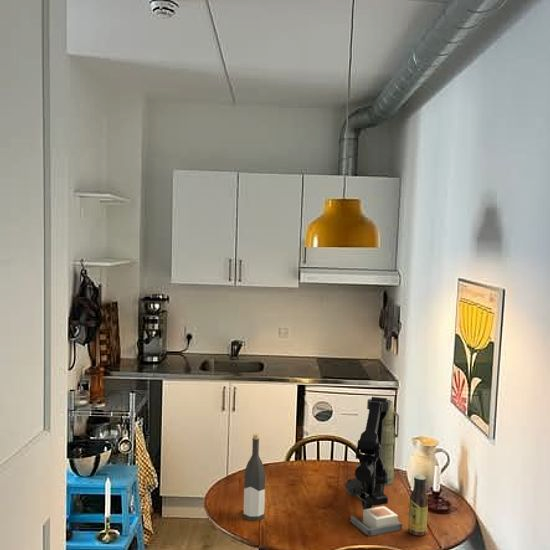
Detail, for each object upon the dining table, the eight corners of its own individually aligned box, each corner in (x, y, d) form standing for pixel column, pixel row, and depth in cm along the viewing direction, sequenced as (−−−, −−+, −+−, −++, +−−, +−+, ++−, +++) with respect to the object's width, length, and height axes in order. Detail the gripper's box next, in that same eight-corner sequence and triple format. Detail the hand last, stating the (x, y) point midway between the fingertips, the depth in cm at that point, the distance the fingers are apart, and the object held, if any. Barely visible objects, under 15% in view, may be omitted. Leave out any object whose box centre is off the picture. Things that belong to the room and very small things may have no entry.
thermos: (369, 476, 253) (371, 397, 252) (396, 479, 250) (399, 399, 249) (367, 484, 244) (370, 401, 243) (396, 487, 242) (399, 404, 241)
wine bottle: (267, 513, 214) (270, 432, 213) (260, 522, 206) (262, 439, 205) (247, 509, 216) (249, 430, 215) (239, 518, 209) (241, 436, 208)
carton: (383, 519, 212) (384, 505, 212) (397, 529, 204) (398, 515, 204) (362, 523, 208) (363, 509, 208) (376, 533, 201) (376, 519, 200)
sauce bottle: (405, 528, 205) (407, 472, 204) (422, 528, 205) (424, 472, 205) (411, 537, 198) (413, 480, 198) (429, 537, 199) (431, 480, 198)
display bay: (383, 515, 214) (383, 510, 214) (402, 529, 204) (402, 523, 204) (350, 521, 209) (350, 516, 208) (368, 536, 198) (368, 530, 198)
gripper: (335, 466, 217) (334, 507, 217) (363, 484, 200) (361, 529, 200) (360, 462, 221) (359, 502, 222) (389, 480, 204) (388, 523, 205)
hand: (366, 514), depth 212 cm, fingers closed
